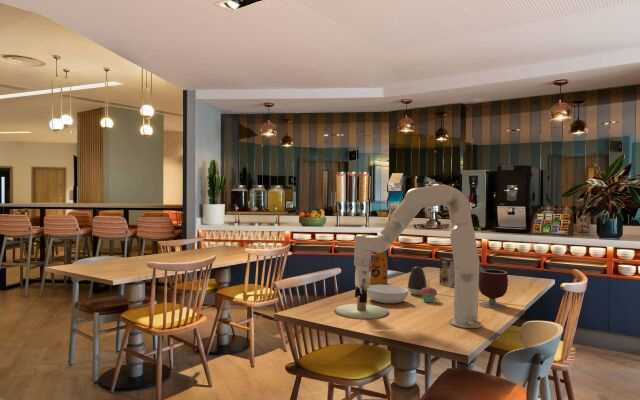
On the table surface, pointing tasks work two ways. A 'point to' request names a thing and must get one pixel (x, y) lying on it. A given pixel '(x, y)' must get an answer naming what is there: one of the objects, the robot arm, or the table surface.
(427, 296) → the cupcake
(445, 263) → the coffee box
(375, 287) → the serving bowl
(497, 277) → the mate gourd
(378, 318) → the mat
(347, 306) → the lid
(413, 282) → the smart speaker
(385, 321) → the table surface
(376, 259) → the coffee package
